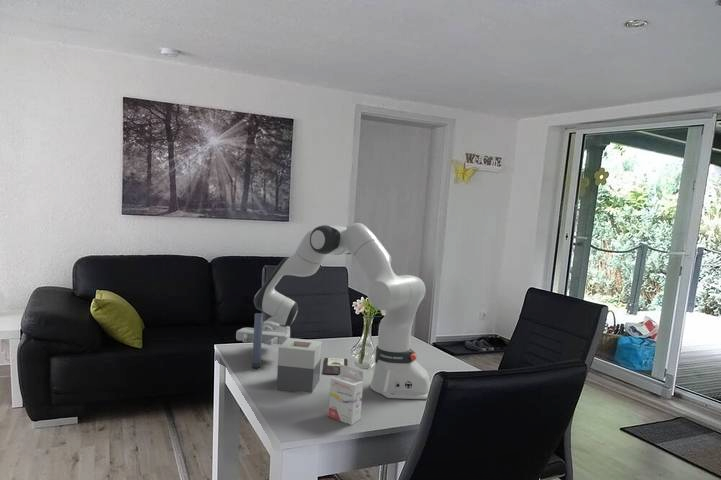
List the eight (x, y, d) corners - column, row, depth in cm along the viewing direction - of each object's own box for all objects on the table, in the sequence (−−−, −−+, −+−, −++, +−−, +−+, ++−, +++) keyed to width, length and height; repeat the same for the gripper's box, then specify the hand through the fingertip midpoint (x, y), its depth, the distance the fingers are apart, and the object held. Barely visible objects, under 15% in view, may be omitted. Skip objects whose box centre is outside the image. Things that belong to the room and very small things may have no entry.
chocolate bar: (322, 373, 177) (324, 357, 195) (322, 375, 177) (324, 360, 195) (347, 374, 178) (347, 359, 196) (347, 377, 178) (347, 361, 196)
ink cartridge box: (327, 417, 142) (330, 367, 141) (337, 411, 146) (340, 363, 145) (351, 425, 138) (355, 374, 137) (361, 419, 142) (364, 370, 141)
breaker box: (319, 380, 171) (321, 341, 170) (312, 393, 159) (314, 351, 158) (286, 376, 172) (288, 337, 171) (276, 389, 161) (278, 347, 160)
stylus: (261, 366, 181) (264, 313, 180) (258, 369, 178) (261, 315, 177) (253, 365, 182) (256, 312, 180) (250, 368, 178) (253, 314, 177)
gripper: (243, 322, 193) (230, 330, 179) (293, 326, 191) (284, 335, 177) (242, 337, 194) (229, 347, 180) (292, 342, 191) (283, 352, 178)
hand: (257, 341), depth 178 cm, fingers open, 8 cm apart
